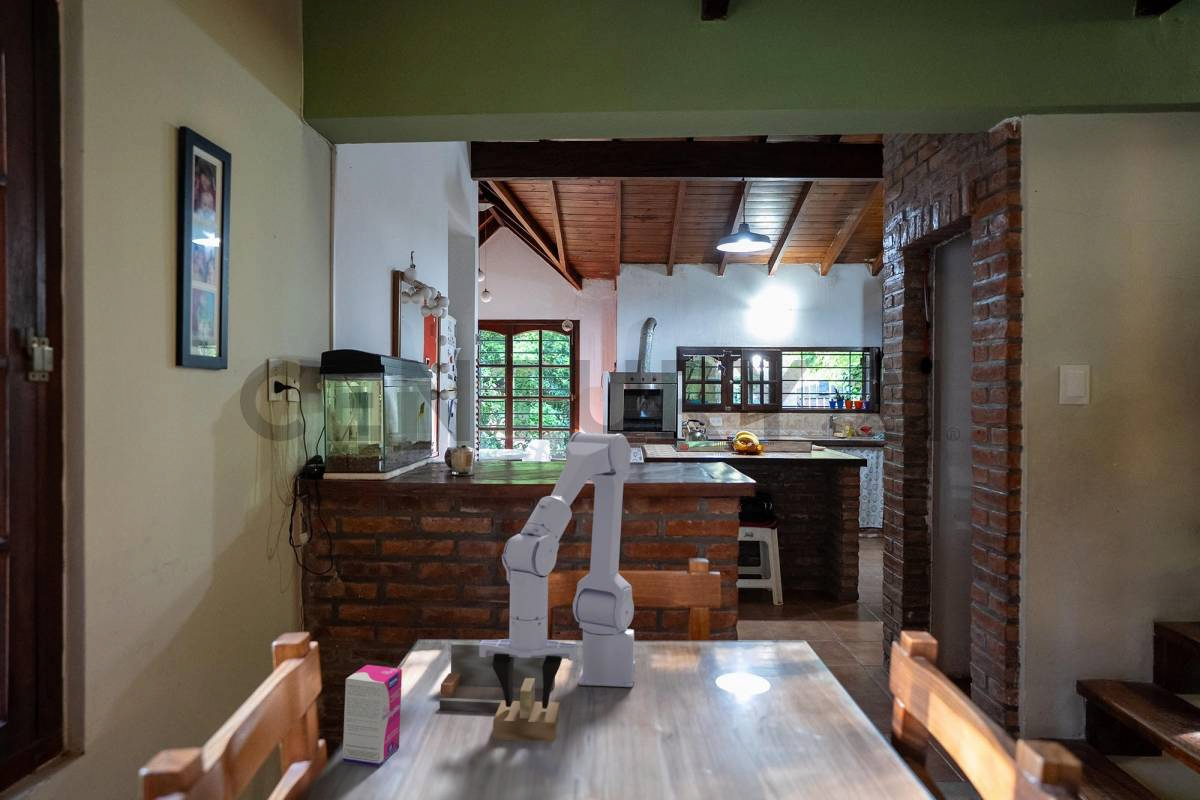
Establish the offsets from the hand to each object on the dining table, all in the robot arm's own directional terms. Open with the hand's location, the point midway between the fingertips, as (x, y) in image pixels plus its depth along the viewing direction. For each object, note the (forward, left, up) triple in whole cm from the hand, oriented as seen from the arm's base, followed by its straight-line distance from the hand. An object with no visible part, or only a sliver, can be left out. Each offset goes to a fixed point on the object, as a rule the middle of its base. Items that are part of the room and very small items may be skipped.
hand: (527, 705), depth 109 cm
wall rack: (+7, -11, -4) cm, 14 cm away
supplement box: (+20, +10, -4) cm, 23 cm away
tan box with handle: (0, 0, -4) cm, 4 cm away
